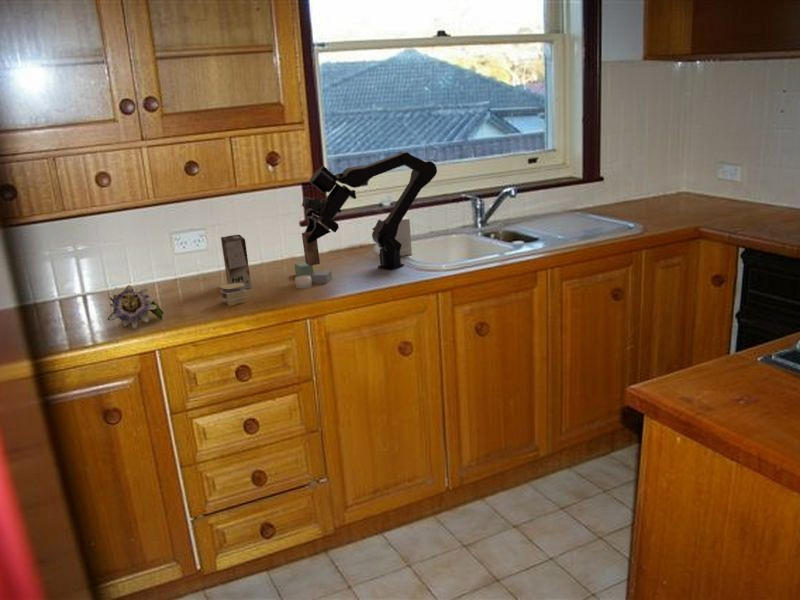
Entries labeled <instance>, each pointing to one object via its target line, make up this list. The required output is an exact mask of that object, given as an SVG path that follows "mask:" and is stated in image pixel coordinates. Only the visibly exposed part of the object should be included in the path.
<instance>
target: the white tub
mask: <svg viewBox="0 0 800 600" xmlns="http://www.w3.org/2000/svg"><path fill="white" fill-rule="evenodd" d="M294 281H295V283H294V284H295V288H296V289H303V290H304V289H309V288H312V287H313V283H312V276H309V275H302V276H297V275H296V277H294Z"/></svg>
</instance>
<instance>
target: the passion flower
mask: <svg viewBox="0 0 800 600" xmlns="http://www.w3.org/2000/svg"><path fill="white" fill-rule="evenodd" d="M148 292H149V289H148V288H144V289H141V290H140V291H135V290H134V288H133V287H132V285H130V284H127V285H126V287H125V289H124V290H123V291H121V293H118V294H113V297H111V296H109V300H110V301H111V302H112V303H110V304H109V306H110V307H111V308H113V309H112V310H113V311H112V313H111V314H110V315H109V316H108V317H107V320H108V321H115V320H117V319H120V321H121V325H122V327H123V329H124V328H126V327H129V326H130V327H131V329H132V330H136V329H137V328H138V324H139V321H141V322H144V323H146V324H147V323H149V321H150V318H149V312H151V313H152V314H154V315H155V316H156V317H157V319H158V320H160V321H162V320H163V315H164V314H165V313H164V311H163V310H162V309H161V308H160V306H159V304H158V303H157V302H155V297H154V296H149V294H148Z"/></svg>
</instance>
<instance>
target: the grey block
mask: <svg viewBox="0 0 800 600" xmlns="http://www.w3.org/2000/svg"><path fill="white" fill-rule="evenodd" d="M332 272H333V271H332V270H316V271H315V272H313V274H312V276H311V282H312V284H328V283H330V282H331V281H332V280H333V273H332Z"/></svg>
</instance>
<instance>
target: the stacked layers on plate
mask: <svg viewBox="0 0 800 600" xmlns="http://www.w3.org/2000/svg"><path fill="white" fill-rule="evenodd" d="M241 286H245V285H244V284H243V283H234V284H228V283H225V284H221V285H220V286H219V288H222V289H220V293H221V295H222V296H221V298H220V299H222V300H225V301H226V303H227V306H235V305H237V304H243V303H246V302H247V299H246V298H247V297H248V296H247V294H246V291H247V289H245V288H244V287H241Z"/></svg>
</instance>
